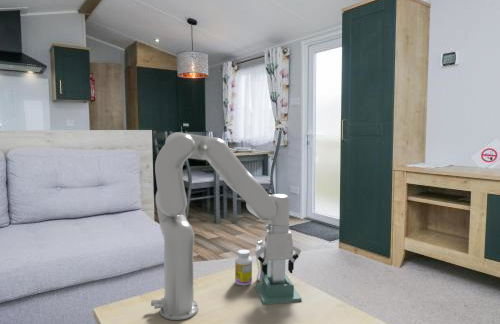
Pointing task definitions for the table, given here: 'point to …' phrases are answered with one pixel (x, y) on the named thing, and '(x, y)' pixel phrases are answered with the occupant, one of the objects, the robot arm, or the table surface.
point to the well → (277, 291)
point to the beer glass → (259, 264)
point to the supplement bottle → (243, 268)
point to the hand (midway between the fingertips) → (277, 272)
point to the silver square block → (277, 272)
